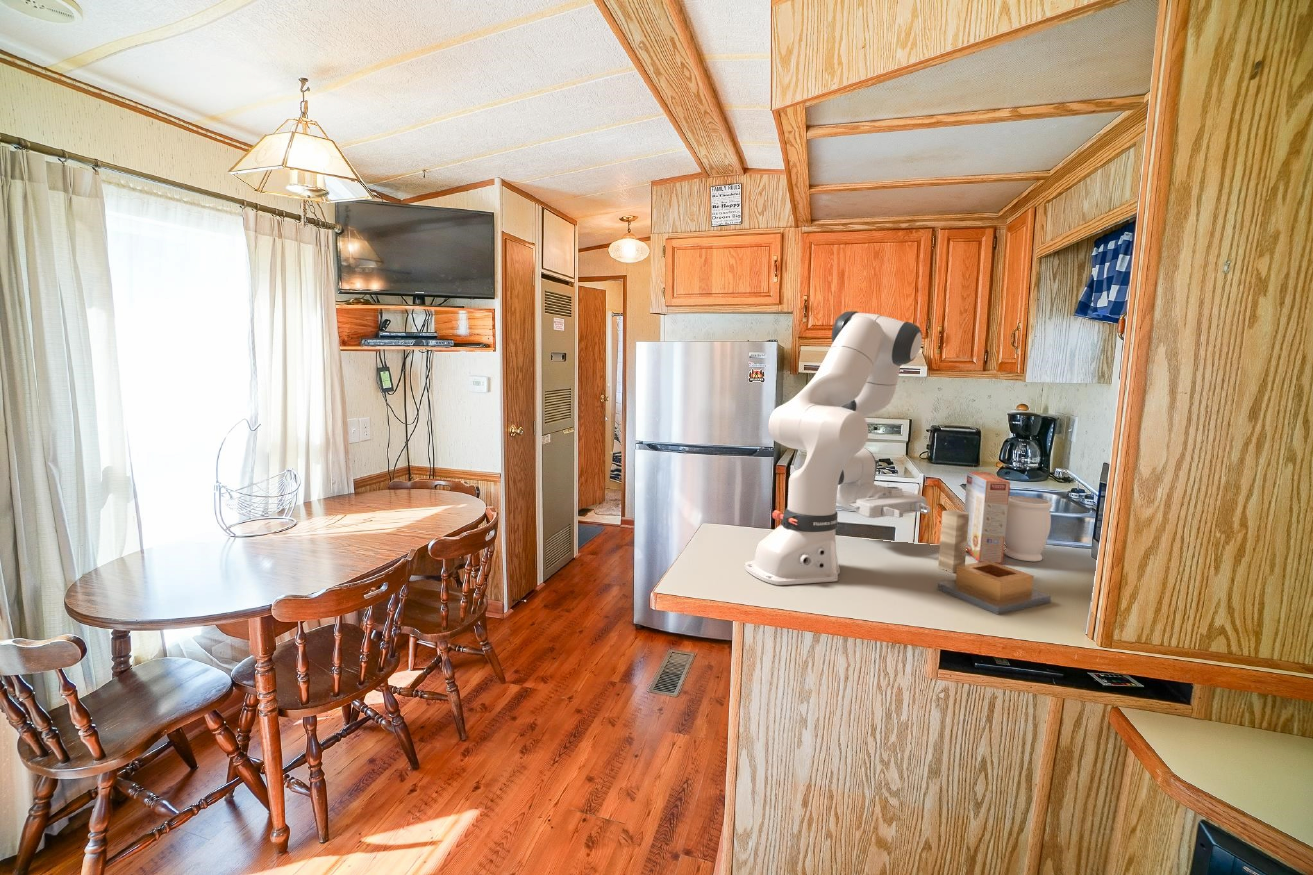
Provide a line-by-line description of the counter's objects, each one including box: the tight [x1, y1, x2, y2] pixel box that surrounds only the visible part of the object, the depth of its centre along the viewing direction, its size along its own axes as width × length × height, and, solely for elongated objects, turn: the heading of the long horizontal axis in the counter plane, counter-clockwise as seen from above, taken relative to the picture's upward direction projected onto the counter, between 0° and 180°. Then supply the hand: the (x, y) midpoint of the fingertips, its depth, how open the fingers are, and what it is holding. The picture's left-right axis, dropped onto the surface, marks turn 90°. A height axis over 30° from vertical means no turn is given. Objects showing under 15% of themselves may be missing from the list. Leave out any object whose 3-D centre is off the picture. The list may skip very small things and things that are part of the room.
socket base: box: [936, 561, 1052, 615], centre depth 122 cm, size 16×14×6 cm
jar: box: [1003, 495, 1053, 562], centre depth 147 cm, size 11×10×15 cm
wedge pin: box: [937, 509, 969, 574], centre depth 137 cm, size 4×4×14 cm
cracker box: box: [963, 471, 1011, 565], centre depth 148 cm, size 14×6×21 cm, turn 168°
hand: (914, 512), depth 148 cm, fingers open, 8 cm apart
